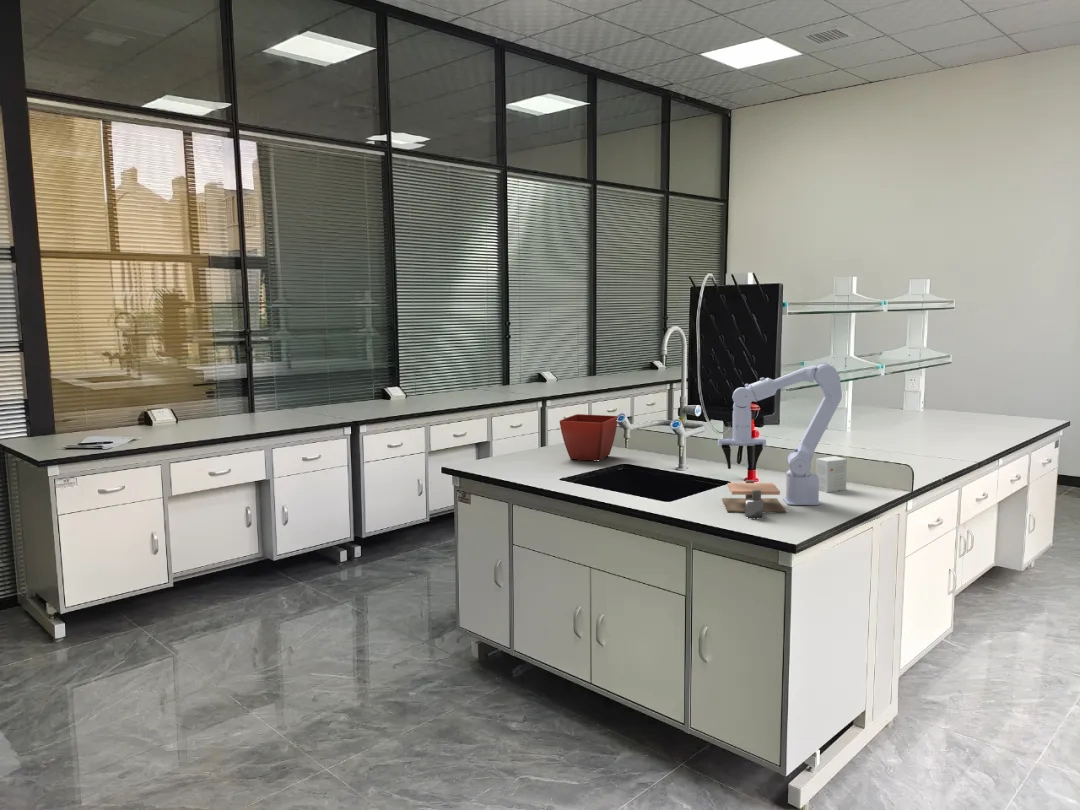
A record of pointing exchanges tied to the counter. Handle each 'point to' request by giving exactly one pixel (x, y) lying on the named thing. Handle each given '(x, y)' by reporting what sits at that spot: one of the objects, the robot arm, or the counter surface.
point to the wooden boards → (739, 503)
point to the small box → (831, 473)
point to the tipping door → (753, 488)
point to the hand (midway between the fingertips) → (741, 468)
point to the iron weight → (754, 508)
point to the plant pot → (588, 435)
